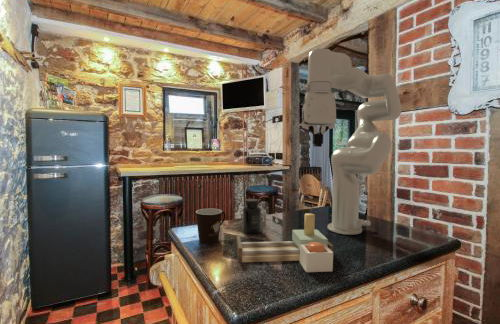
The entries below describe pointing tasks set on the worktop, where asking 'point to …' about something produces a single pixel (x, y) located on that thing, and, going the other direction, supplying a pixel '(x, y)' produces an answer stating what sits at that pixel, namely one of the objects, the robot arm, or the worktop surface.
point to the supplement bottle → (251, 217)
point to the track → (269, 251)
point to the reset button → (315, 247)
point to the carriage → (308, 233)
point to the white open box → (316, 259)
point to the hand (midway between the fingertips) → (317, 146)
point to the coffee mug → (209, 225)
